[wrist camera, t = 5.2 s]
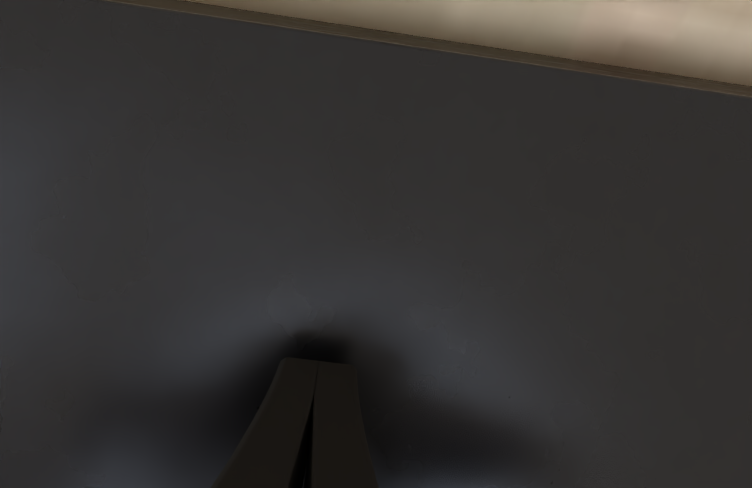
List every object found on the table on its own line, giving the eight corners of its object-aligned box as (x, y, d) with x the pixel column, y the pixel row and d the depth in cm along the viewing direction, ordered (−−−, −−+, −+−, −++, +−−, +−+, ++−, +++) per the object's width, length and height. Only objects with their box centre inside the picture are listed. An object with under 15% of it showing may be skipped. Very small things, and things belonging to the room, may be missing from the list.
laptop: (737, 556, 27) (755, 595, 25) (74, 487, 25) (55, 526, 24) (1160, 147, 14) (1242, 181, 13) (-87, -41, 13) (-146, -25, 11)
